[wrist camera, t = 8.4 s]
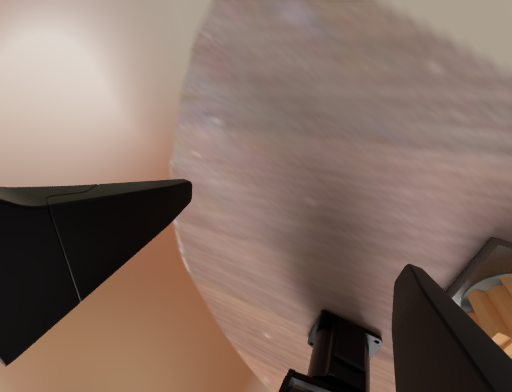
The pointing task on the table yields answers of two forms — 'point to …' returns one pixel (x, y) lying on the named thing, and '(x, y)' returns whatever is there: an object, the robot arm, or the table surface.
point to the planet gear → (495, 313)
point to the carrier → (483, 272)
